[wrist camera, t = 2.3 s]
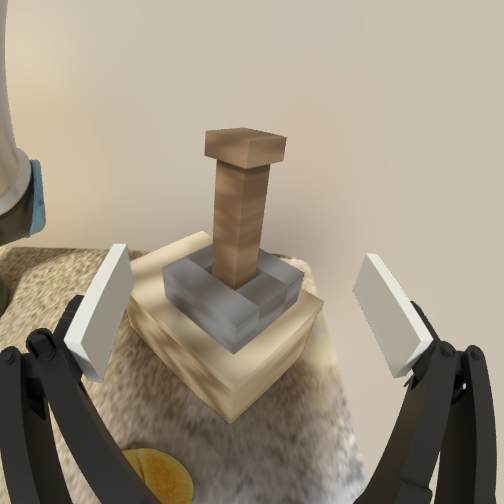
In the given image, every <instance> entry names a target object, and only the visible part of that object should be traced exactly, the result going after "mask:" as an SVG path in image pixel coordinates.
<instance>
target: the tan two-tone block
mask: <svg viewBox="0 0 504 504" xmlns="http://www.w3.org/2000/svg"><path fill="white" fill-rule="evenodd" d="M212 257H213V237H211V236H210V235H208V234H206V233H204V232H203V231H200V232H198V233H195V234H193V235H191V236H188V237H186V238H183V239H181V240H179V241H176V242H174V243H172V244H169V245H167V246H165V247H162V248H160V249H158V250H156V251H153V252H151V253H149V254H147V255H144V256H142V257H140V258H138V259H135V260H133V261H131V262H130V265H131V271H132V276H133V281H134V287H133V289H132V292H131V295H130V298H129V300H128V303H127V306H126V311H127V315H128V318H129V322H130V325H131V327H132V328H133V329H134V330H135V331H136V333H137V334H138V335H139V336H140V337H141V338H142V339H143V341H144V342H145V343H146V344H147V345H148V346H149V347H150V348H151V349H152V351H153V352H154V353H155V354H156V355H157V356H158V357H159V358H160V359H161V360H162V361H163V362H164V363H165V364H166V365H167V366H168V367H169V369H170V370H171V371H172V372H173V373H174V374H175V375H176V376H177V377H178V378H179V379H180V380H181V381H182V382H184V383H185V384H186V385H187V386H188V387H189V388H190V389H191V390H192V391H193V392H194V393H195V394H196V395H197V396H198V397H199V398H200V399H202V400H203V401H204V402H205V403H206V404H207V405H208V406H209V407H211V408H212V409H213V410H214V411H215V412H216V413H217V414H219V415H220V416H221V417H222V418H223V419H224V420H226V421H227V422H228V423H229V424H231V423H232V422H233V421H234V420H236V419H237V418H238V417H239V416H240V415H241V414H242V413H243V412H244V411H245V410H247V409H248V408H249V407H250V406H251V405H252V404H253V403H254V402H255V401H256V400H257V399H258V398H259V397H260V396H261V395H262V394H263V393H265V392H266V391H267V390H268V389H269V388H270V387H271V386H272V385H273V384H274V383H275V382H276V381H277V380H278V379H279V378H280V377H281V376H282V375H283V374H284V373H285V372H286V370H287V369H288V368H289V367H290V366H291V365H292V364H293V363H294V362H295V361H296V360H297V359H298V358H299V357H300V356H301V354H302V351H303V349H304V346H305V344H306V341H307V339H308V336H309V333H310V331H311V328H312V325H313V322H314V320H315V317H316V315H317V314H318V313H319V311H320V310H321V309H322V307H323V304H324V301H322V300H321V299H319V298H317V297H315V296H314V295H312V294H310V293H308V292H307V291H305V290H303V289H301V285H302V281H303V277H304V274H305V273H304V272H302V271H300V270H299V269H297V268H295V267H293V266H291V265H289V264H288V263H286V262H284V261H282V260H280V259H278V258H277V257H275V256H273V255H271V254H269V253H267V252H265V251H264V250H262V249H260V248H259V253H258V260H257V268H256V275H255V278H254V279H253V280H251V281H250V282H248V283H246V284H245V285H243V286H242V287H240V288H239V289H237V290H236V291H234V290H233V289H231V288H230V287H228V286H227V285H226V284H224V283H223V282H221V281H220V280H218V279H217V278H215V277H214V276H212Z"/></svg>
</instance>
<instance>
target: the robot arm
mask: <svg viewBox="0 0 504 504" xmlns="http://www.w3.org/2000/svg"><path fill="white" fill-rule="evenodd" d="M7 2H8V0H0V246H3V245H5V244H8V243H10V242H13V241H16V240H19V239H21V238H24V237H26V238H28V237H30V236H31V235H32V234H35V233H37V232H40V231H41V230H42V229H43V228H44V226H45V223H46V218H45V207H44V201H43V185H42V175H41V166H40V162H39V161H38V160H29V159H28V156H27V155H26V154H25V153H24V152H23V151H22V150H21V149H18V148H16V144H15V139H14V135H13V129H12V124H11V118H10V111H9V104H8V96H7V86H6V72H5V24H6V11H7ZM133 287H134V281H133V276H132V271H131V265H130V260H129V254H128V248H127V244H113V246H112V248H111V249H110V251H109V253H108V254H107V256H106V258H105V260H104V261H103V263H102V265H101V266H100V268H99V270H98V272H97V274H96V275H95V277H94V279H93V281H92V283H91V285H90V287H89V288H88V290H87V292H86V294H85V296H83V295H76V296H75V297H74V298H73V299H72V300H71V301H69V303H68V305H67V307H66V309H65V312H64V313H63V315H62V318H60V320H59V322H58V324H57V326H56V329H55V331H54V333H53V334H52V333H51V331H50V330H48V329H47V328H39V329H36V330H34V331H33V332H31V333H30V335H29V336H28V337H27V340H26V348H27V349H28V351H29V352H30V353H24V354H21V353H20V351H19V350H18V348H16V347H14V346H9V347H7V348H5V349H4V350H3V351H2V352H1V353H0V452H1V459H2V465H3V470H4V475H5V480H6V485H7V489H8V493H9V497H10V501H11V504H73V503H72V500H71V498H70V495H69V492H68V489H67V486H66V483H65V479H64V476H63V473H62V469H61V465H60V462H59V458H58V454H57V450H56V445H55V441H54V436H53V431H52V425H51V419H50V413H49V406H48V402H49V405H50V407H51V410H52V412H53V415H54V417H55V420H56V422H57V424H58V426H59V429H60V431H61V433H62V435H63V437H64V440H65V442H66V444H67V446H68V448H69V450H70V452H71V454H72V456H73V457H74V459H75V461H76V463H77V465H78V467H79V468H80V470H81V472H82V474H83V475H84V477H85V479H86V480H87V482H88V484H89V485H90V487H91V488H92V490H93V491H94V493H95V495H96V496H97V498H98V499H99V500H100V502H101V503H102V504H162V503H161V502H160V501H159V500H158V498H157V497H156V496H155V495H154V494H153V492H152V491H151V490H150V489H149V488H148V486H147V485H146V484H145V483H144V481H143V480H142V479H141V477H140V476H139V475H138V474H137V472H136V471H135V470H134V468H133V467H132V465H131V464H130V463H129V461H128V460H127V458H126V457H125V456H124V454H123V453H122V451H121V450H120V448H119V447H118V445H117V444H116V442H115V440H114V439H113V437H112V436H111V434H110V432H109V431H108V429H107V428H106V426H105V424H104V422H103V421H102V419H101V417H100V416H99V414H98V412H97V410H96V408H95V406H94V405H93V403H92V401H91V399H90V397H89V395H88V393H87V391H86V389H85V387H84V385H83V383H82V382H81V377H82V374H84V375H85V377H86V379H87V380H90V381H95V382H100V383H103V379H104V376H105V372H106V369H107V365H108V362H109V358H110V355H111V352H112V348H113V345H114V342H115V339H116V335H117V332H118V329H119V326H120V323H121V320H122V317H123V314H124V312H125V309H126V306H127V303H128V300H129V298H130V295H131V292H132V289H133ZM353 293H354V294H355V296H356V298H357V300H358V302H359V304H360V306H361V308H362V310H363V312H364V314H365V316H366V318H367V321H368V323H369V325H370V327H371V329H372V331H373V333H374V335H375V337H376V340H377V342H378V344H379V346H380V348H381V351H382V353H383V355H384V357H385V360H386V362H387V364H388V366H389V369H390V371H391V373H392V376H393V378H398V377H402V376H406V374H407V373H408V372H409V371H410V370H411V368H412V370H413V372H414V374H413V375H412V376H411V378H410V379H409V380H408V381H407V382H406V383H405V385H404V387H406V386H407V385H408V384H409V386H408V389H407V392H406V395H405V398H404V401H403V404H402V407H401V410H400V413H399V416H398V418H397V421H396V424H395V426H394V429H393V431H392V434H391V436H390V439H389V441H388V444H387V446H386V448H385V451H384V453H383V455H382V457H381V460H380V462H379V464H378V466H377V468H376V470H375V472H374V474H373V476H372V478H371V480H370V482H369V483H368V485H367V487H366V489H365V491H364V492H363V493H362V494H361V495H360V496H359V497H358V498H357V499H356V500H355V501H354V503H353V504H430V502H431V499H432V495H433V494H432V491H431V490H430V489H429V483H430V480H431V477H432V474H433V471H434V468H435V465H436V462H437V459H438V455H439V452H440V462H439V472H438V480H437V487H436V494H435V500H434V504H496V498H495V489H496V469H497V468H496V467H497V449H496V429H495V416H494V408H493V399H492V393H491V386H490V380H489V375H488V370H487V365H486V360H485V356H484V354H483V352H482V350H481V349H480V348H479V347H477V346H475V345H470V346H468V348H467V349H466V350H465V352H463V351H456V350H455V348H454V347H453V346H452V345H451V344H450V343H448V342H446V341H441V340H440V339H439V337H438V335H437V334H436V332H435V330H434V329H433V327H432V326H431V324H430V323H429V321H428V319H427V318H426V316H424V313H423V311H422V310H421V308H420V307H419V306H418V305H416V303H414V302H413V301H409V299H408V298H407V296H406V295H405V293H404V292H403V290H402V289H401V287H400V286H399V284H398V283H397V281H396V280H395V279H394V277H393V276H392V274H391V273H390V271H389V270H388V269H387V267H386V266H385V264H384V263H383V262H382V260H381V259H380V257H379V256H378V255H377V254H366V255H365V258H364V261H363V264H362V266H361V269H360V272H359V275H358V277H357V280H356V283H355V285H354V288H353ZM7 302H8V290H7V288H6V285H5V283H4V281H3V279H2V278H1V277H0V316H1V315H2V313H3V312H4V310H5V308H6V305H7ZM465 383H466V388H465V389H463V384H465ZM440 448H441V449H440Z"/></svg>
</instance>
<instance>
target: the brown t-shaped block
mask: <svg viewBox="0 0 504 504" xmlns="http://www.w3.org/2000/svg"><path fill="white" fill-rule="evenodd" d="M285 145H286V137H283V136H279V135H275V134H271V133H267V132H262V131H258V130H253V129H248V128H234V129H221V130H211V131H206V138H205V156H208V157H211V158H214V159H217V166H216V183H215V203H214V204H215V205H214V227H213V257H212V276H214V277H215V278H217V279H218V280H220V281H221V282H223V283H224V284H226V285H227V286H228V287H230V288H231V289H233V290H234V291H236V290H237V289H239V288H240V287H242V286H243V285H245V284H246V283H248V282H250V281H251V280H253V279H254V278H255V275H256V268H257V260H258V253H259V246H260V237H261V231H262V224H263V216H264V208H265V201H266V194H267V185H268V178H269V170H270V164H271V163H276V162H281V161H283V159H284V151H285Z"/></svg>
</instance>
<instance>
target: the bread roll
mask: <svg viewBox="0 0 504 504" xmlns="http://www.w3.org/2000/svg"><path fill="white" fill-rule="evenodd" d="M122 453H123V454H124V456H125V457H126V458H127V460H128V461H129V463H130V464H131V465H132V467H133V468H134V470H135V471H136V472H137V474H138V475H139V476H140V477H141V479H142V480H143V481H144V483H145V484H146V485H147V486H148V488H149V489H150V490H151V491H152V492H153V494H154V495H155V496H156V497H157V498H158V500H159V501H160V502H161V503H162V504H190V502H191V500H192V497H193V493H194V486H193V482H192V479H191V477H190V475H189V473H188V471H187V470H186V469H185V468H184V466H183V465H182V464H181V463H180V462H178V461H177V460H176V459H175V458H173V457H171V456H170V455H168V454H166V453H164V452H161V451H158V450H155V449H150V448H140V449H131V450H125V451H122Z"/></svg>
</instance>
